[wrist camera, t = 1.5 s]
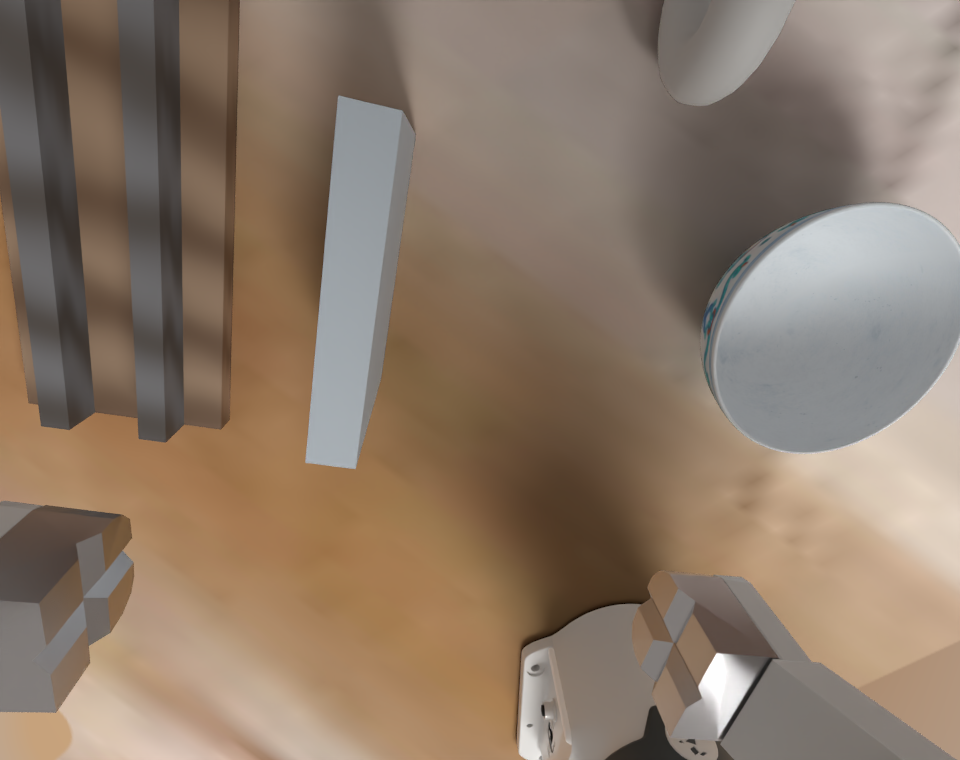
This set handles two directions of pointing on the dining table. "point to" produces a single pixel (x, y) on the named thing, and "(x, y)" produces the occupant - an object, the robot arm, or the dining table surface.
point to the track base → (121, 205)
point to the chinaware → (833, 326)
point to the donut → (715, 45)
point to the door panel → (357, 275)
